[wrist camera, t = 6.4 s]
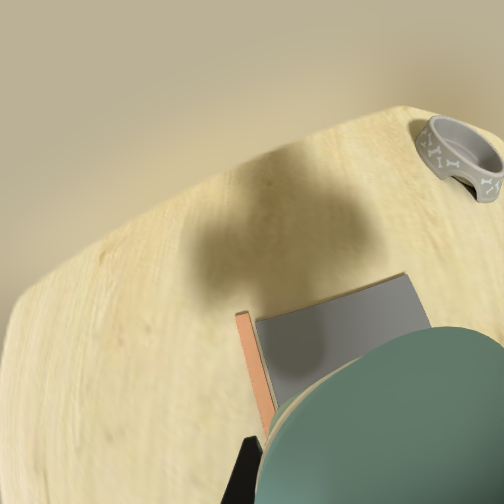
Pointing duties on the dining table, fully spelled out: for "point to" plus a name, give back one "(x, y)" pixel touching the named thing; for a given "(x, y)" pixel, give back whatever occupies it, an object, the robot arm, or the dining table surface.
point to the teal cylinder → (394, 427)
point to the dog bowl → (461, 156)
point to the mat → (336, 333)
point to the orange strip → (255, 370)
